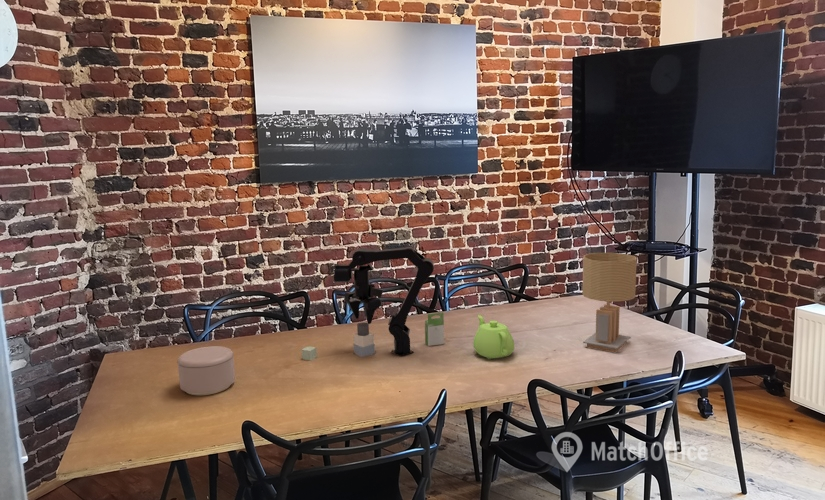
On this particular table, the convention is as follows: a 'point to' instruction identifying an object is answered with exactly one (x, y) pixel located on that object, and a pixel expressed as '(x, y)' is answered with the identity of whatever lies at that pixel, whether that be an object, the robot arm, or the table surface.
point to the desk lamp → (608, 295)
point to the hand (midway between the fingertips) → (363, 321)
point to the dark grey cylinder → (363, 329)
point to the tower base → (364, 350)
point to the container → (206, 370)
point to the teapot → (493, 340)
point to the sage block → (309, 353)
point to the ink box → (434, 330)
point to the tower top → (363, 340)
